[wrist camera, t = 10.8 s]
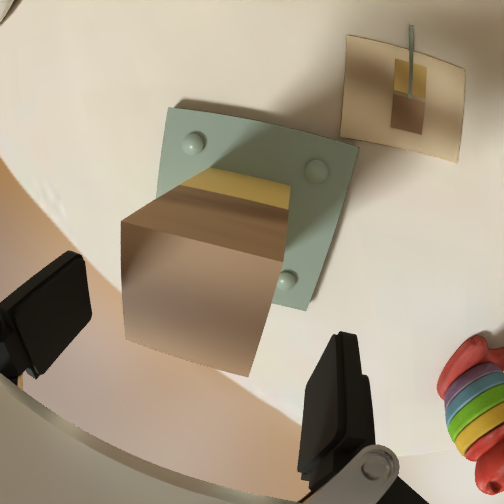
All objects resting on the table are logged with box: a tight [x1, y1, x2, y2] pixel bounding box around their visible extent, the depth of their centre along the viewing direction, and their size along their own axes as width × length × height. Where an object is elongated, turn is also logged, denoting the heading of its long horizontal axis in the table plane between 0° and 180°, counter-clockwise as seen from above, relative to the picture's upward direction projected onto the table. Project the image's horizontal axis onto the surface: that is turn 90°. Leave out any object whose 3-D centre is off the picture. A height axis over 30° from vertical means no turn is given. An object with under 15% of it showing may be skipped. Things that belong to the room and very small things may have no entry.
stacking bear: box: [437, 336, 504, 495], centre depth 19 cm, size 11×10×18 cm
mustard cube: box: [179, 168, 291, 210], centre depth 19 cm, size 6×6×6 cm
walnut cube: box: [121, 185, 289, 377], centre depth 14 cm, size 6×6×6 cm
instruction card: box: [340, 25, 465, 163], centre depth 17 cm, size 10×10×1 cm
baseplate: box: [156, 108, 359, 311], centre depth 22 cm, size 14×14×1 cm
